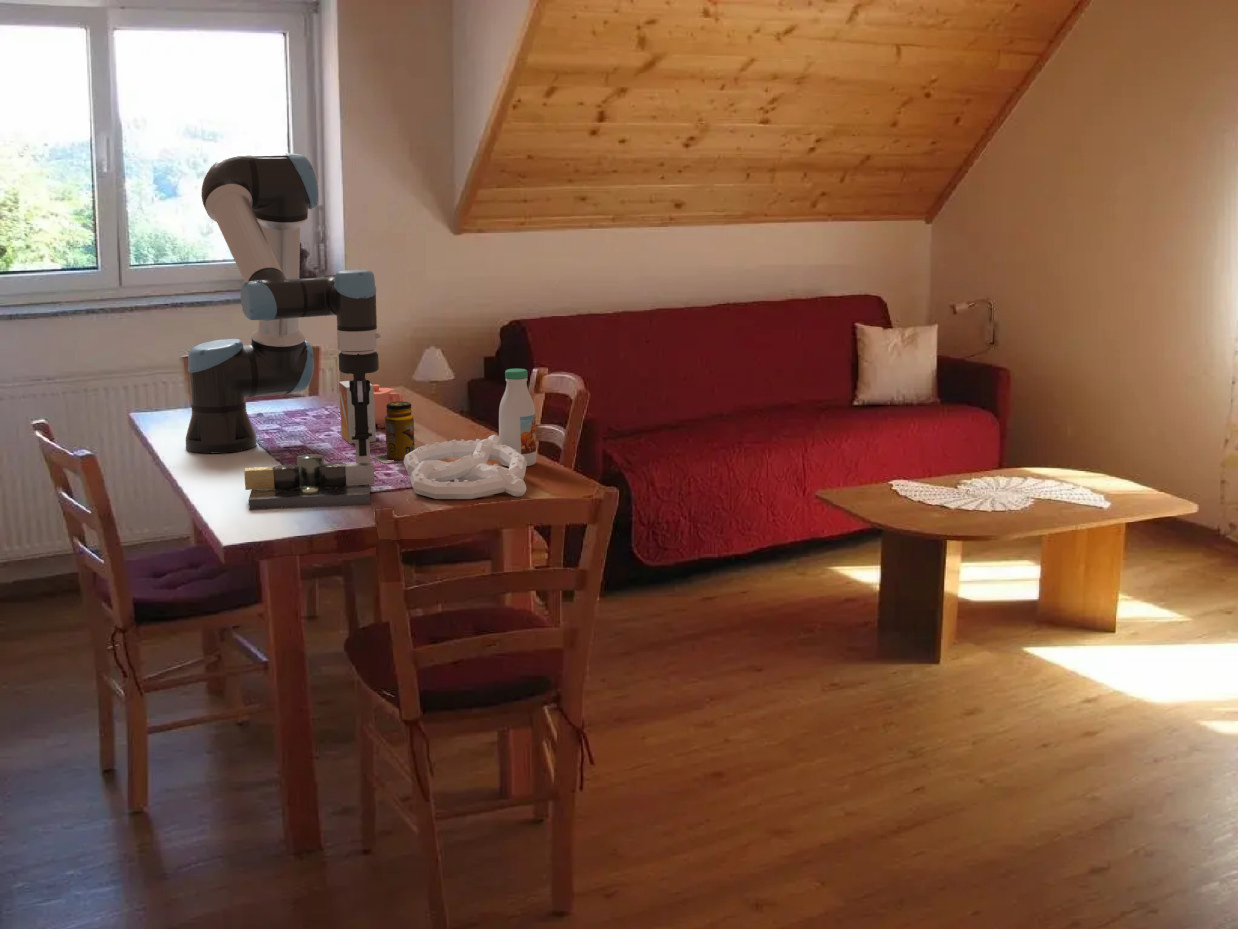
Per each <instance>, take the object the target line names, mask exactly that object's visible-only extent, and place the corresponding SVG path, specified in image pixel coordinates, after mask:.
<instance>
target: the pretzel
mask: <svg viewBox="0 0 1238 929" xmlns="http://www.w3.org/2000/svg"><path fill="white" fill-rule="evenodd" d="M448 458H458V459H457V460H455V461H454V460H453V461H449V462H447V461H443V460H442V459H448ZM489 460H494V461H499V462H500V461H501V462H502V463H504V464H505V465H507V466H506V467H505V466H504V467H503V466H502V465H499V464H498V463H494V464H493V465H492V464H488V462H489ZM403 464H404V466H405V469H406V473H407V474H408V476H409V480H410V483H411V486H412V489H413V491H414V493H415V494H417V495H421V496H425V497H428V498H432V499H433V500H434V499H435V500H472V499H478V498H482V497H487V496H491V495H495V494H500V493H504V492H506V493H507V494H509V495H511V496H513V497H518V498H520V497H522V496H523V495H525V493H526V491H527V484H526V483H525V481H524V478H525V476H526V470H527V466H526V465H527V461H526V459H525V457H524V456H522V455H521V454H519V453H518V452H517V451H516V450H514V449H512V448H511V447H508V446H507V445H503V442H502V439H501V437H499V435H497V434H492V435H489V436H488V438H484V439H481V438H480V439H479V438H475V440H473V439H469V440H465V439H464V438H462V439H460V440H456V439H451V440H448V441H447V440H444V441H443V442H439V441H438V442H437V441H435V442H434V443H432V444H430V443H426V444H424V445H422V446H418V447H417V448H415V450H414V451H412V452H410V453H408V454H407V455H405V458H404V461H403ZM507 467H508V468H507Z"/></svg>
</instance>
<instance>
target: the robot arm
mask: <svg viewBox="0 0 1238 929" xmlns="http://www.w3.org/2000/svg"><path fill="white" fill-rule="evenodd" d="M201 185H202V186H201V201H202V205H203V207H204V210H205V212H206V214H207V215H208V217H209V219H211V220H212V221H214V222H215V223H216V224H217V226H218V228H219V229H220V232H221V235H222V237H223V238H224V241H225V243H226V245H227V247H228V250H229V251H230V254H231V255H232V258H233V259H234V260H233V261H234V263H235V264H236V267H237V269H238V271H239V273H240V275H241V277H242V279H243V281H244V283H243V284H242V286H241V289H240V304H241V306H242V308H241V309H242V312H243V314H244V316H245V317H246V318H247V319H248V320H251V321H258V328H257V329H255V330H254V331H253V332H252V333H251V343H250V344H244V343H243V342H242V340H241V339H238V338H226V339H217V340H211V341H207V342H203V343H200V344H197V345H195V346H193V347H192V348H190V350H189V351H188V356H187V357H188V359H187V362H188V363H187V366H188V367H187V372H188V376H189V380H188V381H189V392H190V404H191V405H190V406H191V415H190V420H189V424H188V428H187V432H186V435H185V449H186V450H187V451H189V452H193V453H199V454H226V453H227V454H228V453H234V452H235V453H236V452H241V451H246V450H250V449H251V448H254V447H256V445H257V434H256V431H255V429H254V427H253V424H252V422H251V419H250V416H249V415H248V411H247V402H246V399H248V398H253V397H264V396H275V395H277V396H278V395H290V394H294V393H299V392H300V393H301V392H303V391H305V390H306V389H307V387H309V385H310V383H312V380H313V374H314V371H315V358H314V350H313V347H312V344H311V343H310V342H309V341H307V340H306V337H305V334H304V333H303V332H302V331H301V330H300V329H299V318H317V317H330V316H335V317H336V337H337V350H338V351H340V352H339V354H338V368H339V369H338V371H339V372H341V373H343V374H347V375H349V374H351V375H353V379H351V380H348V381H349V387H350V392H351V402H352V405H354V410H355V431H356V432H355V436H352V440H355V443H354V446H355V463H371V451H370V448H371V447H370V444H371V443H370V442H369V436H372V433H369V432H368V430H369V427H368V414H367V405H368V404H369V403H370V401H369V391H370V383H371V379H366V374H373V373H375V372H377V371H379V369H380V366H379V365H380V364H379V362H380V361H379V353H378V352H377V351H376V350H377V349H378V347H379V346H378V339H380V338H381V336H382V335H381V333H380V332H378V325H377V324H378V322H377V321H378V320H377V318H378V317H377V286H376V280H375V274H374V272H373V271H371V270H370V269H361V268H359V269H358V268H357V269H341V270H338V271H337V272H336V273H335V274H331V275H330V274H328V275H327V274H326V275H322V276H321V277H307V278H305V277H304V278H300V263H301V262H300V260H301V259H300V257H301V256H300V255H301V254H300V253H301V248H300V247H301V226H302V225H303V224H304V223H305V222H306V221H307V220H308V214H309V212H308V211H309V210H313V209H314V208H316V207H317V205H318V201H319V189H318V188H319V187H318V186H319V185H318V181H317V177H316V173H315V170H314V168H313V165H312V164H311V162H310V160H309V159H308V158H307V157H306V156H305V155H303V154H301V153H290V152H285V151H283V152H269V153H268V152H266V153H265V152H263V153H244V152H243V153H241V152H240V153H239V152H238V153H233V154H227V155H226V156H223V157H221V158H220V159H218V160H217V161H215V163H213V165H211V167H210V168H209V169H208V171H207V172H206V174H205V176H204V178H203V181H202V184H201ZM377 332H378V333H377Z"/></svg>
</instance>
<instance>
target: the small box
mask: <svg viewBox="0 0 1238 929" xmlns="http://www.w3.org/2000/svg"><path fill="white" fill-rule="evenodd" d="M373 385H374V384H372V383H371V382H370V391H369V401H370V403H369V404H368V405H367V414H368V427H369V430H368V432H369V433H372V436H369V443H374V442H377V436H376V434H377V433H376V432H377V431H376V424H375V410H374V390H373ZM338 389H339V410H340V432H341V435H340V436H341V437H342V438H343V439H344V440H345V441H346V442H347V443H348V444H350V445H353V444H352V443H354V444H355V440H352V436H355V432H356V431H355V410H354V405H352V402H351V392H350V387H349V380H344V381H343V380H342V381H338Z"/></svg>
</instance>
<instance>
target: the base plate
mask: <svg viewBox="0 0 1238 929" xmlns="http://www.w3.org/2000/svg"><path fill="white" fill-rule="evenodd" d="M324 461H325V460H324V455H323V454H318V453H310V454H309V453H307V454H300V455H298V456H297V457H296V464H297V466H299V477H300V487H298V488H295V489H290V490H278V489H256V490H250V494H249V497H248V509H249V511H254V510H255V511H257V510H277V509H280V510H283V509H299V508H319V507H323V508H324V507H340V506H341V507H343V506H345V507H346V506H361V505H363V506H364V505H366V506H367V505H371V497H370V496H371V494H370V493H371V492H370V484H368V485H346V486H343V487H336V488H328V487H323V486H322V485H321V468H320V466H321V465H323V464H325V463H324Z"/></svg>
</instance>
